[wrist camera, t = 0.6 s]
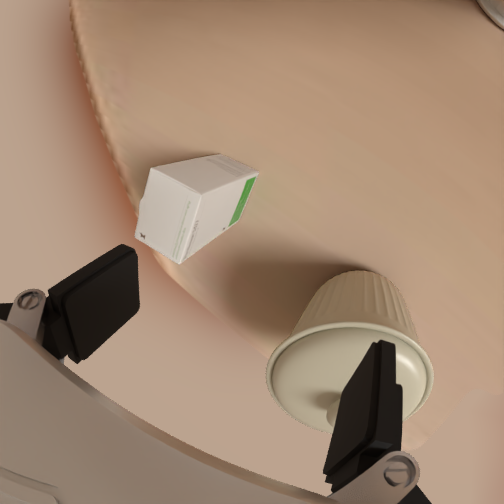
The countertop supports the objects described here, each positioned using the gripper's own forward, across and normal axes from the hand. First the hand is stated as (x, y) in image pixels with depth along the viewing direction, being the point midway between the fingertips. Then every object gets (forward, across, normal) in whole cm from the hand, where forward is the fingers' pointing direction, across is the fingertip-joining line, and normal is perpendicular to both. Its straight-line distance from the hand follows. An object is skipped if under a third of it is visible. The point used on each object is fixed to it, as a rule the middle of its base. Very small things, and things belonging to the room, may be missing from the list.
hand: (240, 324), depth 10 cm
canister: (+30, -9, +16) cm, 35 cm away
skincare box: (+30, +13, +5) cm, 33 cm away
